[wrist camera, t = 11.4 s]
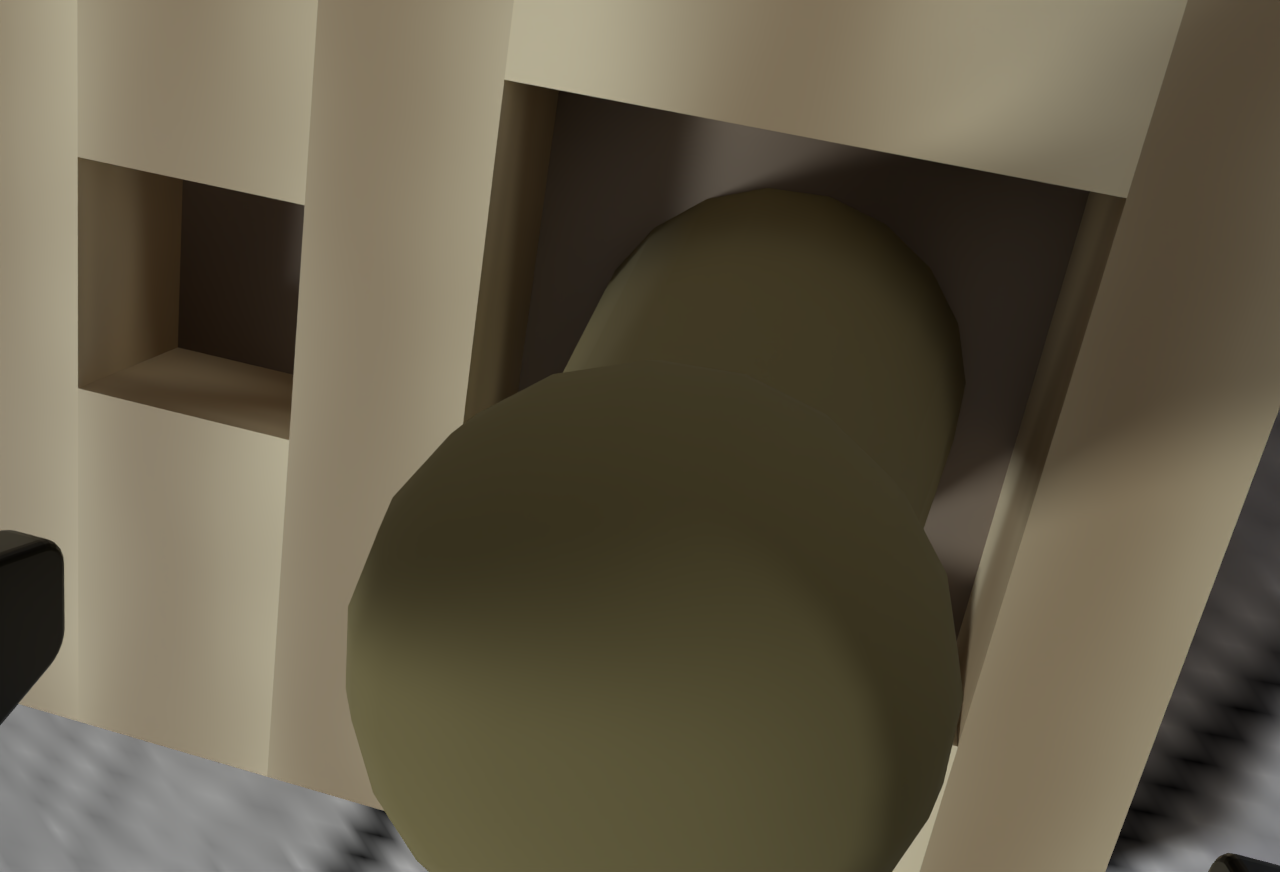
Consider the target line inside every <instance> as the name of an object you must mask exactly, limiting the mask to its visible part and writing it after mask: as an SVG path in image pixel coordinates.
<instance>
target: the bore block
mask: <svg viewBox="0 0 1280 872" xmlns="http://www.w3.org/2000/svg"><path fill="white" fill-rule="evenodd" d="M764 188H772V189H779V190H786V191H793V192H801V193H808V194H815V195H822V196H829V197H832V198H834V199H836V200H838V201H840V202H842V203H844V204H846V205H848V206H850V207H852V208H854V209H856V210H858V211H860V212H862V213H864V214H866V215H868V216H870V217H872V218H874V219H876V220H878V221H880V222H882V223H884V224H886V225H887V226H888V227H889V228H890V229H891V230H892V231H893V232H894V233H895V234H896V235H897V236H898V237H899V238H900V239H901V240H902V241H903V242H905V243H906V244H907V245H908V246H909V247H910V248H911V249H912V250H913V251H914V252H915V253H916V254H917V255H918V256H919V257H920V258H921V259H922V260H923V261H924V262H925V263H926V264H927V265H928V266H929V267H930V268H931V270H932V272H933V274H934V276H935V278H936V280H937V282H938V284H939V286H940V288H941V290H942V292H943V294H944V296H945V298H946V300H947V302H948V304H949V306H950V308H951V310H952V312H953V314H954V316H955V318H956V320H957V322H958V326H959V334H960V342H961V350H962V358H963V365H964V373H965V381H966V384H965V389H964V394H963V398H962V403H961V408H960V412H959V417H958V422H957V427H956V431H955V436H954V441H953V444H952V446H951V449H950V452H949V455H948V458H947V461H946V464H945V467H944V470H943V473H942V476H941V479H940V482H939V485H938V488H937V491H936V494H935V497H934V500H933V502H932V505H931V508H930V511H929V514H928V517H927V520H926V523H925V526H924V531H925V533H926V535H927V537H928V539H929V541H930V542H931V544H932V546H933V548H934V550H935V552H936V554H937V556H938V558H939V560H940V562H941V564H942V565H943V567H944V569H945V571H946V573H947V577H948V584H949V592H950V599H951V606H952V613H953V620H954V628H955V635H956V642H957V649H958V656H959V664H960V673H961V681H962V690H963V702H962V706H961V711H960V715H959V719H958V723H957V728H956V732H955V736H954V741H953V745H952V749H951V753H950V758H949V762H948V766H947V771H946V775H945V779H944V783H943V786H942V788H941V791H940V793H939V795H938V798H937V800H936V803H935V805H934V807H933V810H932V812H931V815H930V817H929V819H928V821H927V822H926V823H925V825H924V826H923V828H922V829H921V831H920V832H919V834H918V835H917V836H916V838H915V839H914V841H913V842H912V844H911V845H910V847H909V848H908V850H907V851H906V852H905V854H904V855H903V857H902V858H901V860H900V861H899V863H898V864H897V865H896V867H895V868H894V870H893V871H892V872H1105V871H1106V868H1107V866H1108V863H1109V860H1110V858H1111V855H1112V852H1113V850H1114V847H1115V844H1116V842H1117V839H1118V836H1119V834H1120V831H1121V828H1122V826H1123V823H1124V820H1125V818H1126V815H1127V812H1128V810H1129V807H1130V804H1131V802H1132V799H1133V797H1134V794H1135V791H1136V789H1137V786H1138V783H1139V781H1140V778H1141V775H1142V773H1143V770H1144V767H1145V765H1146V762H1147V759H1148V757H1149V754H1150V751H1151V749H1152V746H1153V743H1154V741H1155V738H1156V735H1157V733H1158V730H1159V727H1160V725H1161V722H1162V719H1163V717H1164V714H1165V711H1166V709H1167V706H1168V703H1169V701H1170V698H1171V695H1172V693H1173V690H1174V687H1175V685H1176V682H1177V680H1178V677H1179V674H1180V672H1181V669H1182V666H1183V664H1184V661H1185V658H1186V656H1187V653H1188V650H1189V648H1190V645H1191V642H1192V640H1193V637H1194V634H1195V632H1196V629H1197V626H1198V624H1199V621H1200V618H1201V616H1202V613H1203V610H1204V608H1205V605H1206V602H1207V600H1208V597H1209V594H1210V592H1211V589H1212V586H1213V584H1214V581H1215V578H1216V576H1217V573H1218V570H1219V568H1220V565H1221V563H1222V560H1223V557H1224V555H1225V552H1226V549H1227V547H1228V544H1229V541H1230V539H1231V536H1232V533H1233V531H1234V528H1235V525H1236V523H1237V520H1238V517H1239V515H1240V512H1241V509H1242V507H1243V504H1244V501H1245V499H1246V496H1247V493H1248V491H1249V488H1250V485H1251V483H1252V480H1253V477H1254V475H1255V472H1256V469H1257V467H1258V464H1259V461H1260V459H1261V456H1262V453H1263V451H1264V448H1265V445H1266V443H1267V440H1268V438H1269V435H1270V432H1271V430H1272V427H1273V424H1274V422H1275V419H1276V416H1277V414H1278V411H1279V408H1280V0H0V530H15V531H19V532H22V533H26V534H30V535H34V536H38V537H41V538H45V539H48V540H51V541H53V542H55V543H56V544H57V545H58V546H59V548H60V549H61V551H62V554H63V557H64V599H65V632H64V638H63V642H62V645H61V648H60V650H59V653H58V654H57V656H56V658H55V660H54V661H53V662H52V664H51V665H50V666H49V668H48V669H47V670H46V671H45V672H44V674H43V675H42V676H41V677H40V678H39V680H38V681H37V682H36V683H35V684H34V686H33V687H32V688H31V689H30V690H29V692H28V693H27V694H26V695H25V696H24V698H23V699H22V700H21V701H20V702H19V703H18V704H21V705H24V706H28V707H31V708H35V709H38V710H41V711H45V712H48V713H52V714H55V715H59V716H62V717H65V718H69V719H72V720H76V721H79V722H82V723H86V724H89V725H93V726H96V727H100V728H103V729H106V730H110V731H113V732H117V733H120V734H123V735H127V736H130V737H134V738H137V739H141V740H144V741H147V742H151V743H154V744H158V745H161V746H165V747H168V748H171V749H175V750H178V751H182V752H185V753H188V754H192V755H195V756H199V757H202V758H206V759H209V760H212V761H216V762H219V763H223V764H226V765H229V766H233V767H236V768H240V769H243V770H247V771H250V772H253V773H257V774H260V775H264V776H267V777H271V778H274V779H277V780H281V781H284V782H288V783H291V784H294V785H298V786H301V787H305V788H308V789H312V790H315V791H318V792H322V793H325V794H329V795H332V796H335V797H339V798H342V799H346V800H349V801H353V802H356V803H359V804H363V805H366V806H370V807H373V808H377V809H380V810H383V811H384V809H383V808H382V806H381V805H380V803H379V802H378V800H377V798H376V797H375V795H374V794H373V791H372V787H371V784H370V781H369V777H368V774H367V771H366V767H365V764H364V761H363V757H362V754H361V750H360V747H359V744H358V740H357V737H356V734H355V730H354V727H353V724H352V720H351V715H350V709H349V704H348V699H347V693H346V656H347V621H348V605H349V603H350V600H351V598H352V595H353V593H354V590H355V588H356V585H357V583H358V580H359V578H360V575H361V573H362V570H363V568H364V565H365V563H366V560H367V558H368V555H369V553H370V550H371V548H372V545H373V543H374V540H375V538H376V535H377V532H378V530H379V528H380V525H381V523H382V521H383V518H384V516H385V514H386V511H387V509H388V507H389V504H390V502H391V500H392V498H393V496H394V495H395V494H396V493H397V492H398V491H399V490H400V489H401V488H402V487H403V485H404V484H405V483H406V482H407V481H408V480H409V479H410V478H411V477H412V476H413V474H414V473H415V472H416V471H417V470H418V469H419V468H420V467H421V466H422V465H423V464H424V462H425V461H426V460H427V459H428V458H429V457H430V456H431V455H432V454H433V453H434V451H435V450H436V449H437V448H438V447H439V446H440V445H441V444H442V443H443V442H444V440H445V439H446V438H447V437H448V436H449V435H450V434H451V433H452V432H454V431H455V430H456V429H458V428H459V427H460V426H461V425H463V424H464V423H465V422H466V421H468V420H469V419H470V418H472V417H473V416H474V415H475V414H477V413H479V412H481V411H483V410H485V409H487V408H489V407H491V406H493V405H494V404H496V403H498V402H500V401H502V400H504V399H506V398H508V397H510V396H512V395H514V394H516V393H518V392H520V391H521V390H523V389H525V388H527V387H529V386H531V385H533V384H535V383H537V382H539V381H541V380H543V379H545V378H546V377H548V376H550V375H552V374H557V373H563V371H564V369H565V367H566V365H567V364H568V362H569V360H570V358H571V356H572V354H573V352H574V350H575V348H576V346H577V344H578V342H579V340H580V338H581V336H582V334H583V332H584V330H585V328H586V326H587V324H588V322H589V321H590V319H591V317H592V315H593V313H594V311H595V309H596V307H597V305H598V303H599V301H600V299H601V297H602V295H603V293H604V291H605V289H606V287H607V285H608V283H609V281H610V280H611V278H612V276H613V274H614V272H615V270H616V269H617V268H618V267H619V266H620V265H621V264H622V263H623V261H624V260H625V259H626V258H627V257H628V256H629V255H630V254H631V253H632V252H633V251H634V249H635V248H636V247H637V246H638V245H639V244H640V243H641V242H642V241H643V240H644V239H645V238H646V236H647V235H648V234H649V233H650V232H651V231H652V230H653V229H654V228H655V227H657V226H659V225H660V224H662V223H664V222H666V221H668V220H670V219H671V218H673V217H675V216H677V215H679V214H680V213H682V212H684V211H686V210H688V209H690V208H691V207H693V206H695V205H697V204H699V203H700V202H702V201H704V200H706V199H710V198H715V197H720V196H726V195H731V194H737V193H742V192H748V191H753V190H759V189H764Z"/></svg>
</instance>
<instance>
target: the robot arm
mask: <svg viewBox="0 0 1280 872" xmlns="http://www.w3.org/2000/svg"><path fill="white" fill-rule="evenodd" d="M64 632H65V599H64V557H63V554H62V551H61V549H60V548H59V546H58V545H57V544H56V543H55V542H53V541H51V540H48V539H45V538H41V537H38V536H34V535H30V534H26V533H22V532H19V531H15V530H0V725H1V724H2V723H3V721H4V720H5V719H6V718H7V717H8V715H9V714H10V713H11V712H12V711H13V709H14V708H15V707H16V706H17V705H18V703H19V702H20V701H21V700H22V699H23V698H24V696H25V695H26V694H27V693H28V692H29V690H30V689H31V688H32V687H33V686H34V684H35V683H36V682H37V681H38V680H39V678H40V677H41V676H42V675H43V674H44V672H45V671H46V670H47V669H48V668H49V666H50V665H51V664H52V662H53V661H54V660H55V658H56V656H57V654H58V653H59V650H60V648H61V645H62V642H63V638H64ZM1209 872H1280V866H1279V865H1276V864H1272V863H1268V862H1264V861H1260V860H1256V859H1253V858H1249V857H1245V856H1241V855H1237V854H1232V853H1227V854H1224V855H1222V856H1220V857H1218V858H1217V859H1216V861H1215V862H1214V863H1213V864H1212V866H1211V868H1210V870H1209Z"/></svg>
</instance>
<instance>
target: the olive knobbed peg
mask: <svg viewBox="0 0 1280 872" xmlns="http://www.w3.org/2000/svg"><path fill="white" fill-rule="evenodd" d="M965 384H966V381H965V373H964V365H963V358H962V350H961V342H960V334H959V326H958V322H957V320H956V318H955V316H954V314H953V312H952V310H951V308H950V306H949V304H948V302H947V300H946V298H945V296H944V294H943V292H942V290H941V288H940V286H939V284H938V282H937V280H936V278H935V276H934V274H933V272H932V270H931V268H930V267H929V266H928V265H927V264H926V263H925V262H924V261H923V260H922V259H921V258H920V257H919V256H918V255H917V254H916V253H915V252H914V251H913V250H912V249H911V248H910V247H909V246H908V245H907V244H906V243H905V242H903V241H902V240H901V239H900V238H899V237H898V236H897V235H896V234H895V233H894V232H893V231H892V230H891V229H890V228H889V227H888V226H887V225H886V224H884V223H882V222H880V221H878V220H876V219H874V218H872V217H870V216H868V215H866V214H864V213H862V212H860V211H858V210H856V209H854V208H852V207H850V206H848V205H846V204H844V203H842V202H840V201H838V200H836V199H834V198H832V197H829V196H822V195H815V194H808V193H801V192H793V191H786V190H779V189H772V188H764V189H759V190H753V191H748V192H742V193H737V194H731V195H726V196H720V197H715V198H710V199H706V200H704V201H702V202H700V203H699V204H697V205H695V206H693V207H691V208H690V209H688V210H686V211H684V212H682V213H680V214H679V215H677V216H675V217H673V218H671V219H670V220H668V221H666V222H664V223H662V224H660V225H659V226H657V227H655V228H654V229H653V230H652V231H651V232H650V233H649V234H648V235H647V236H646V238H645V239H644V240H643V241H642V242H641V243H640V244H639V245H638V246H637V247H636V248H635V249H634V251H633V252H632V253H631V254H630V255H629V256H628V257H627V258H626V259H625V260H624V261H623V263H622V264H621V265H620V266H619V267H618V268H617V269H616V270H615V272H614V274H613V276H612V278H611V280H610V281H609V283H608V285H607V287H606V289H605V291H604V293H603V295H602V297H601V299H600V301H599V303H598V305H597V307H596V309H595V311H594V313H593V315H592V317H591V319H590V321H589V322H588V324H587V326H586V328H585V330H584V332H583V334H582V336H581V338H580V340H579V342H578V344H577V346H576V348H575V350H574V352H573V354H572V356H571V358H570V360H569V362H568V364H567V365H566V367H565V369H564V371H563V373H557V374H552V375H550V376H548V377H546V378H545V379H543V380H541V381H539V382H537V383H535V384H533V385H531V386H529V387H527V388H525V389H523V390H521V391H520V392H518V393H516V394H514V395H512V396H510V397H508V398H506V399H504V400H502V401H500V402H498V403H496V404H494V405H493V406H491V407H489V408H487V409H485V410H483V411H481V412H479V413H477V414H475V415H474V416H473V417H472V418H470V419H469V420H468V421H466V422H465V423H464V424H463V425H461V426H460V427H459V428H458V429H456V430H455V431H454V432H452V433H451V434H450V435H449V436H448V437H447V438H446V439H445V440H444V442H443V443H442V444H441V445H440V446H439V447H438V448H437V449H436V450H435V451H434V453H433V454H432V455H431V456H430V457H429V458H428V459H427V460H426V461H425V462H424V464H423V465H422V466H421V467H420V468H419V469H418V470H417V471H416V472H415V473H414V474H413V476H412V477H411V478H410V479H409V480H408V481H407V482H406V483H405V484H404V485H403V487H402V488H401V489H400V490H399V491H398V492H397V493H396V494H395V495H394V496H393V498H392V500H391V502H390V504H389V507H388V509H387V511H386V514H385V516H384V518H383V521H382V523H381V525H380V528H379V530H378V532H377V535H376V538H375V540H374V543H373V545H372V548H371V550H370V553H369V555H368V558H367V560H366V563H365V565H364V568H363V570H362V573H361V575H360V578H359V580H358V583H357V585H356V588H355V590H354V593H353V595H352V598H351V600H350V603H349V605H348V621H347V656H346V693H347V699H348V704H349V709H350V715H351V720H352V724H353V727H354V730H355V734H356V737H357V740H358V744H359V747H360V750H361V754H362V757H363V761H364V764H365V767H366V771H367V774H368V777H369V781H370V784H371V787H372V791H373V794H374V795H375V797H376V798H377V800H378V802H379V803H380V805H381V806H382V808H383V809H384V811H385V812H386V814H387V815H388V817H389V818H390V820H391V822H392V823H393V825H394V826H395V828H396V829H397V831H398V832H399V834H400V835H401V837H402V839H403V840H404V842H405V843H406V845H407V846H408V848H409V849H410V851H411V852H412V854H413V856H414V857H415V859H416V860H417V861H418V862H419V863H420V864H421V865H422V866H423V867H425V868H426V869H427V870H428V871H429V872H892V871H893V870H894V868H895V867H896V865H897V864H898V863H899V861H900V860H901V858H902V857H903V855H904V854H905V852H906V851H907V850H908V848H909V847H910V845H911V844H912V842H913V841H914V839H915V838H916V836H917V835H918V834H919V832H920V831H921V829H922V828H923V826H924V825H925V823H926V822H927V821H928V819H929V817H930V815H931V812H932V810H933V807H934V805H935V803H936V800H937V798H938V795H939V793H940V791H941V788H942V786H943V783H944V779H945V775H946V771H947V766H948V762H949V758H950V753H951V749H952V745H953V741H954V736H955V732H956V728H957V723H958V719H959V715H960V711H961V706H962V702H963V690H962V681H961V673H960V664H959V656H958V649H957V642H956V635H955V628H954V620H953V613H952V606H951V599H950V592H949V584H948V577H947V573H946V571H945V569H944V567H943V565H942V564H941V562H940V560H939V558H938V556H937V554H936V552H935V550H934V548H933V546H932V544H931V542H930V541H929V539H928V537H927V535H926V533H925V531H924V526H925V523H926V520H927V517H928V514H929V511H930V508H931V505H932V502H933V500H934V497H935V494H936V491H937V488H938V485H939V482H940V479H941V476H942V473H943V470H944V467H945V464H946V461H947V458H948V455H949V452H950V449H951V446H952V444H953V441H954V436H955V431H956V427H957V422H958V417H959V412H960V408H961V403H962V398H963V394H964V389H965Z"/></svg>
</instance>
